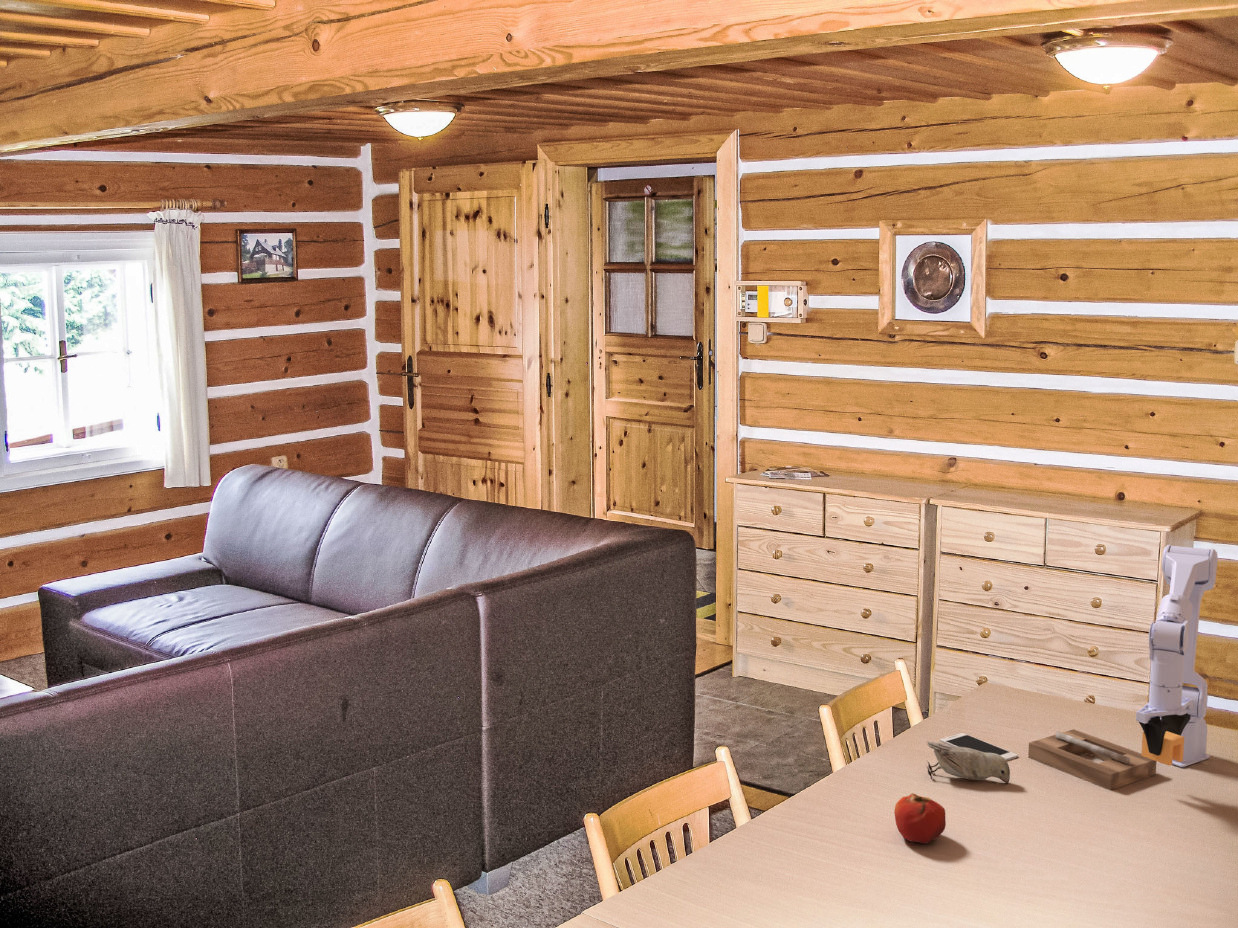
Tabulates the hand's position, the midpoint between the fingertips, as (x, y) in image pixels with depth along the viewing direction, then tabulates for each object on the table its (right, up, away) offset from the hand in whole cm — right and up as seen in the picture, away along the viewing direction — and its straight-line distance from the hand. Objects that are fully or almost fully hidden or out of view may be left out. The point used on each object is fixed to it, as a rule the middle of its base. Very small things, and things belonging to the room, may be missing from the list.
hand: (1162, 750), depth 241 cm
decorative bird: (-35, -8, +9) cm, 37 cm away
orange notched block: (0, -1, 0) cm, 1 cm away
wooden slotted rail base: (-8, -6, +15) cm, 18 cm away
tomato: (-51, -12, -17) cm, 55 cm away
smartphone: (-28, -6, +25) cm, 38 cm away
